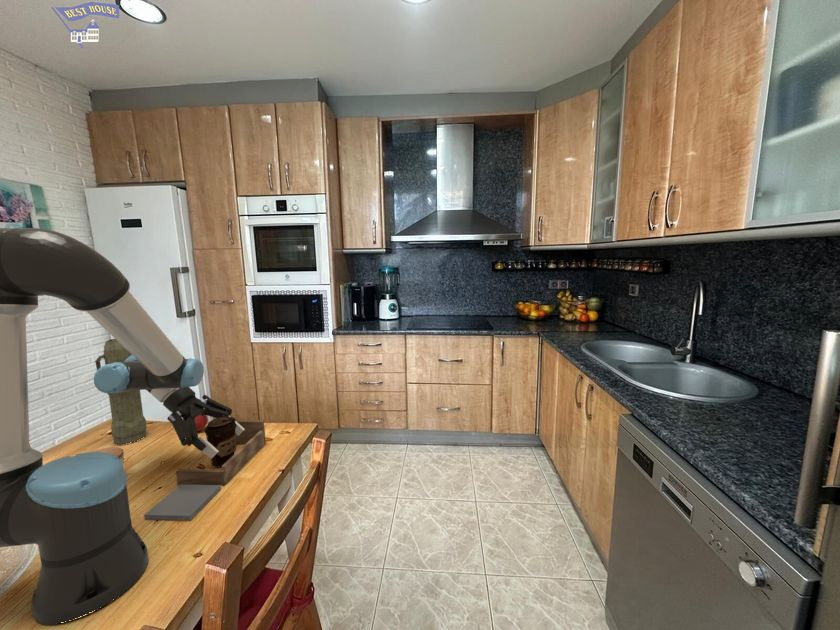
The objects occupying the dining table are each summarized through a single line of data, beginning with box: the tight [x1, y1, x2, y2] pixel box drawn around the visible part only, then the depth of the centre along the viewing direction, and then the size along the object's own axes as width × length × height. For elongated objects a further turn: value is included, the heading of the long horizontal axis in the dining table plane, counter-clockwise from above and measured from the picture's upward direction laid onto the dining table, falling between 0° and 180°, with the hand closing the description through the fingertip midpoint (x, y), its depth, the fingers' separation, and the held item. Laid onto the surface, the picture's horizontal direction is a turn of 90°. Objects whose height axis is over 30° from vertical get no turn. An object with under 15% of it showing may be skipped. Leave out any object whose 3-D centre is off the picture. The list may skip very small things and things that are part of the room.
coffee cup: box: [203, 415, 237, 469], centre depth 99 cm, size 9×8×13 cm
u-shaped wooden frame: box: [175, 419, 266, 487], centre depth 99 cm, size 22×13×8 cm, turn 178°
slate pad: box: [143, 485, 222, 522], centre depth 82 cm, size 11×11×1 cm
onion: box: [195, 415, 209, 432], centre depth 119 cm, size 6×6×8 cm
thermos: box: [94, 338, 148, 445], centre depth 112 cm, size 9×12×35 cm
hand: (229, 443), depth 99 cm, fingers open, 12 cm apart
